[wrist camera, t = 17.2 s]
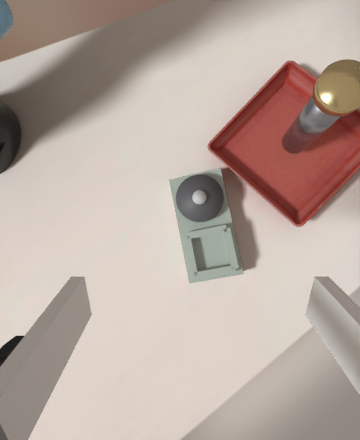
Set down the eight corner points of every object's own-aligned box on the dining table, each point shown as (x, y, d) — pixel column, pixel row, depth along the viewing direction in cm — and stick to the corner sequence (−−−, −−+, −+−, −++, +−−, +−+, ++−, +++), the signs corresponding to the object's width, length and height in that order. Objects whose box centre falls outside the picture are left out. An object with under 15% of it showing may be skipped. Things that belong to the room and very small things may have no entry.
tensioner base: (171, 182, 37) (167, 176, 33) (219, 171, 36) (221, 164, 32) (190, 280, 35) (188, 286, 31) (241, 271, 34) (245, 276, 31)
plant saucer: (205, 154, 37) (204, 146, 34) (282, 72, 36) (290, 56, 33) (290, 230, 34) (299, 229, 31) (376, 144, 34) (394, 134, 30)
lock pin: (274, 129, 33) (313, 67, 20) (308, 122, 32) (367, 53, 20) (281, 160, 32) (324, 114, 20) (315, 153, 32) (380, 101, 20)
